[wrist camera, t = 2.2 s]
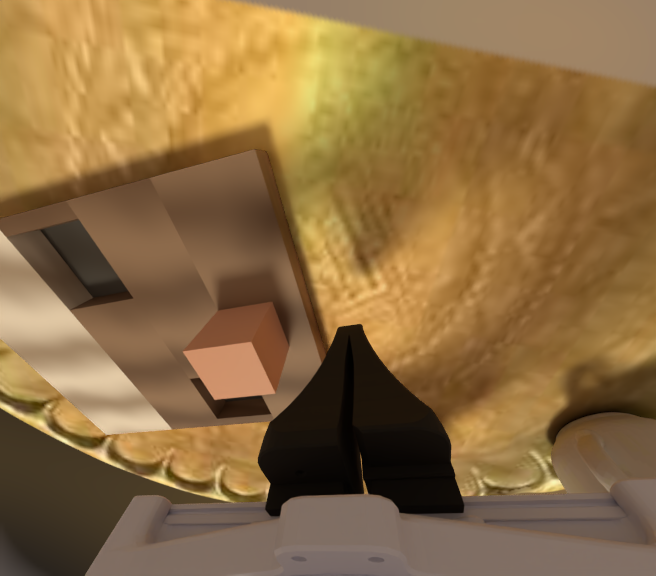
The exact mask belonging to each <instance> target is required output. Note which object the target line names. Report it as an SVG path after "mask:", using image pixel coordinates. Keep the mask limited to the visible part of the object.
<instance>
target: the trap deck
mask: <svg viewBox="0 0 656 576" xmlns="http://www.w3.org/2000/svg"><path fill="white" fill-rule="evenodd" d="M267 302H273V305H274V308H275V310H276V313H277V316H278V318H279V321H280V323H281V326H282V329H283V331H284V334H285V337H286V339H287V342H288V344H289V350H288V353H287V357H286V360H285V363H284V367H283V370H282V374H281V377H280V380H279V384H278V387H277V390H276V394H267V395H257V396H247V397H237V398H227V399H218V400H214V398H213V397H212V395H211V394H210V392H209V391H208V389H207V388H206V386H205V385H204V383H203V382H202V380H201V379H200V377H199V376H198V374H197V372H196V371H195V369H194V368H193V366H192V365H191V363H190V362H189V360H188V359H187V357H186V356H185V354H184V353H183V350H184V349H185V348H186V347H187V346H188V345H189V343H190V342H191V341H192V340H193V339H194V338H195V336H196V335H197V334H198V333H199V332H200V331H201V330H202V328H203V327H204V326H205V325H206V324H207V323H208V321H209V320H210V319H211V318H212V317H213V316H214V315H215V313H216V312H217V311H218V310H224V309H230V308H236V307H242V306H249V305H255V304H261V303H267ZM0 339H2V340H3V341H4V342H5V343H6V344H7V345H8V346H9V347H10V348H11V349H12V350H14V351H15V352H16V353H17V354H18V355H19V356H20V357H21V358H22V359H23V360H25V361H26V362H27V363H28V364H29V365H30V366H31V367H32V368H33V369H34V370H36V371H37V372H38V373H39V374H40V375H41V376H42V377H43V378H44V379H45V380H47V381H48V382H49V383H50V384H51V385H52V386H53V387H54V388H55V389H56V390H57V391H59V392H60V393H61V394H62V395H63V396H64V397H65V398H66V399H67V400H68V401H70V402H71V403H72V404H73V405H74V406H75V407H76V408H77V409H78V410H79V411H81V412H82V413H83V414H84V415H85V416H86V417H87V418H88V419H89V420H90V421H92V422H93V423H94V424H95V425H96V426H97V427H98V428H99V429H100V430H101V431H102V432H104V433H105V434H106V435H109V434H122V433H134V432H146V431H158V430H170V429H182V428H195V427H207V426H219V425H231V424H243V423H255V422H268V421H272V420H273V419H275V418H276V417H277V416H278V415H279V414H280V413H281V412H282V411H283V410H285V409H286V408H287V407H288V406H289V405H290V404H291V403H292V402H293V400H294V399H295V398H296V397H297V396H298V395H299V394H300V393H301V392H302V390H303V389H304V388H305V387H306V385H307V384H308V383H309V382H310V380H311V379H312V378H313V376H314V375H315V373H316V372H317V370H318V369H319V367H320V365H321V364H322V362H323V360H324V358H325V357H326V352H325V349H324V346H323V342H322V339H321V335H320V332H319V329H318V325H317V322H316V318H315V315H314V311H313V308H312V305H311V301H310V298H309V294H308V291H307V288H306V284H305V281H304V277H303V274H302V270H301V267H300V264H299V260H298V257H297V253H296V250H295V247H294V243H293V240H292V236H291V233H290V229H289V226H288V223H287V219H286V216H285V212H284V209H283V206H282V202H281V199H280V195H279V192H278V189H277V185H276V182H275V178H274V175H273V171H272V168H271V165H270V161H269V158H268V154H267V152H266V151H261V150H256V149H254V150H250V151H246V152H243V153H239V154H235V155H232V156H228V157H224V158H221V159H217V160H213V161H210V162H206V163H202V164H199V165H195V166H191V167H188V168H184V169H180V170H177V171H173V172H169V173H166V174H162V175H158V176H155V177H151V178H147V179H144V180H140V181H136V182H133V183H129V184H125V185H122V186H118V187H114V188H111V189H107V190H103V191H100V192H96V193H92V194H89V195H85V196H81V197H78V198H74V199H70V200H67V201H63V202H59V203H56V204H52V205H48V206H45V207H41V208H37V209H34V210H30V211H26V212H23V213H19V214H15V215H12V216H8V217H4V218H1V219H0Z"/></svg>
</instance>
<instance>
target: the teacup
mask: <svg viewBox="0 0 656 576" xmlns="http://www.w3.org/2000/svg"><path fill="white" fill-rule="evenodd" d="M551 460H552V464H553V467H554V470H555V472H556V474H557V476H558V478H559V480H560V481H561V483H562V485H563V487H564V488H565V490H566V491H567V493H604V492H610V488H611V486H612V485H613V484H614V483H615V482H617V481H620V480H623V479H634V478H656V420H655V419H650V418H644V417H638V416H636V415H632V414H627V413H619V412H606V413H599V414H594V415H590V416H586V417H583V418H580V419H577V420H575V421H573V422H571V423H569V424H567V425H565V426H564V427H563V428H562V429H561V430H560V431H559V433H558V434H557V436H556V442H555V443H554V446H553V448H552V452H551Z"/></svg>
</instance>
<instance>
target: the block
mask: <svg viewBox="0 0 656 576" xmlns="http://www.w3.org/2000/svg"><path fill="white" fill-rule="evenodd" d="M288 350H289V344H288V342H287V339H286V337H285V334H284V331H283V329H282V326H281V323H280V321H279V318H278V316H277V313H276V310H275V308H274V305H273V302H267V303H261V304H255V305H249V306H242V307H236V308H230V309H224V310H218V311H217V312H216V313H215V315H214V316H213V317H212V318H211V319H210V320H209V321H208V323H207V324H206V325H205V326H204V327H203V328H202V330H201V331H200V332H199V333H198V334H197V335H196V336H195V338H194V339H193V340H192V341H191V342H190V343H189V345H188V346H187V347H186V348H185V349H184V350H183V353H184V354H185V356H186V357H187V359H188V360H189V362H190V363H191V365H192V366H193V368H194V369H195V371H196V372H197V374H198V376H199V377H200V379H201V380H202V382H203V383H204V385H205V386H206V388H207V389H208V391H209V392H210V394H211V395H212V397H213V398H214V400H218V399H227V398H237V397H247V396H257V395H267V394H276V390H277V387H278V384H279V380H280V377H281V374H282V370H283V367H284V363H285V360H286V357H287V353H288Z"/></svg>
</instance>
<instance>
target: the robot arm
mask: <svg viewBox="0 0 656 576" xmlns="http://www.w3.org/2000/svg"><path fill="white" fill-rule="evenodd" d="M360 454H361V457H362V468H361V458H360ZM258 464H259V466H260V468H261V470H262V472H263V473H264V474H265V476H266V477H267V479H268V480H269V482H270V483H271V484H270V489H269V493H268V498H267V502H241V503H207V504H205V503H204V504H171V502H170V501H169V500H168V499H167V498H165V497H163V496H160V495H145V496H136V497H134V498H133V500H132V501H131V503H130V504H129V506H128V508H127V509H126V511H125V512H124V514H123V515H122V517H121V519H120V520H119V522H118V523H117V525H116V527H115V528H114V530H113V531H112V533H111V535H110V536H109V538H108V539H107V541H106V543H105V544H104V546H103V547H102V549H101V551H100V552H99V554H98V556H97V557H96V558H95V560H94V562H93V564H92V565H91V566H90V568H89V570H88V571H87V573H86V574H85V576H656V478H634V479H623V480H620V481H617V482H615V483H614V484H613V485H612V486H611V488H610V492H604V493H568V494H536V495H535V494H534V495H533V494H532V495H495V496H461V494H460V491H459V488H458V485H457V482H456V480H455V472H454V469H453V467H452V464H451V443H450V439H449V437H448V435H447V433H446V431H445V429H444V427H443V426H442V424H441V422H440V421H439V419H438V418H437V416H436V415H435V413H434V412H433V410H432V409H431V408H429V407H428V406H427V405H425V404H424V403H423V402H422V401H420V400H419V399H418V398H417V397H416V396H414V395H413V394H412V393H411V392H410V391H409V390H408V389H407V388H405V387H404V386H403V385H402V384H401V383H400V382H399V381H398V380H397V379H396V378H395V377H394V375H393V374H392V373H391V372H390V371H389V370H388V369H387V367H386V366H385V365H384V364H383V363H382V361H381V360H380V359H379V357H378V356H377V354H376V353H375V351H374V350H373V348H372V346H371V345H370V343H369V341H368V339H367V337H366V335H365V333H364V330H363V326H362V325H361V324H357V325H350V326H343V327H339V328H338V329H337V332H336V335H335V337H334V340H333V342H332V344H331V346H330V349H329V351H328V353H327V355H326V357H325V358H324V360H323V362H322V364H321V365H320V367H319V369H318V370H317V372H316V373H315V375H314V376H313V378H312V379H311V380H310V382H309V383H308V384H307V385H306V387H305V388H304V389H303V390H302V392H301V393H300V394H299V395H298V396H297V397H296V398H295V399H294V400H293V402H292V403H291V404H290V405H289V406H288V407H287V408H286V409H285V410H283V411H282V412H281V413H280V414H279V415H278V416H277V417H276V418H275V419H273V420H272V421H271V422H270V424H269V426H268V429H267V431H266V434H265V436H264V439H263V443H262V446H261V449H260V453H259V456H258ZM362 471H363V479H362ZM363 480H364V481H365V483H366V487H367V490H368V494H364V488H363Z"/></svg>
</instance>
